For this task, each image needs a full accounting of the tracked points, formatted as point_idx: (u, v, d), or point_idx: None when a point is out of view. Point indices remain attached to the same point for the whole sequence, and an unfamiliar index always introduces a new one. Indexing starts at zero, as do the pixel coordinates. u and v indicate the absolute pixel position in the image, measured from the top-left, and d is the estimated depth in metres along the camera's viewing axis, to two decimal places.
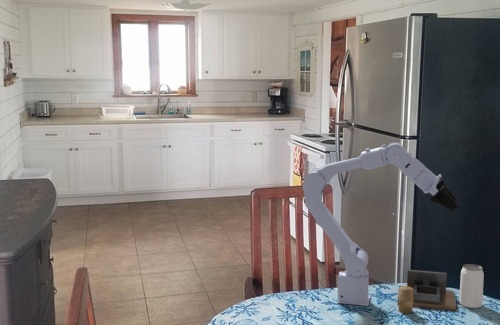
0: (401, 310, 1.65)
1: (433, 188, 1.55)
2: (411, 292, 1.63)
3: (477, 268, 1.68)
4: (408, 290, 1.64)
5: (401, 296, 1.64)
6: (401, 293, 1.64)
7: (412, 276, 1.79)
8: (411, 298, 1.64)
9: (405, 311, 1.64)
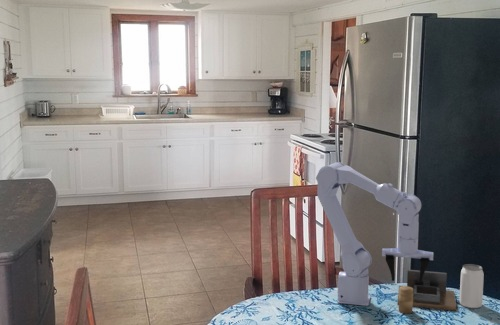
0: (401, 310, 1.65)
1: (382, 251, 1.65)
2: (411, 292, 1.63)
3: (477, 268, 1.68)
4: (408, 290, 1.64)
5: (401, 296, 1.64)
6: (401, 293, 1.64)
7: (412, 276, 1.79)
8: (411, 298, 1.64)
9: (405, 311, 1.64)
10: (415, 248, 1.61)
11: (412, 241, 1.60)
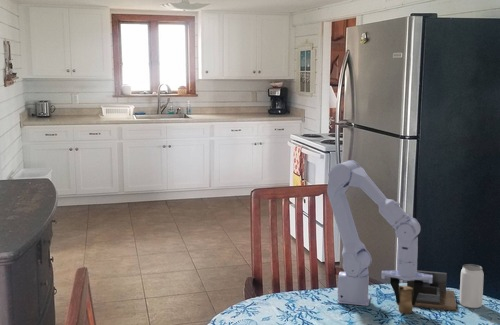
0: (401, 310, 1.65)
1: None
2: (411, 292, 1.63)
3: (477, 268, 1.68)
4: (408, 290, 1.64)
5: (401, 296, 1.64)
6: (401, 293, 1.64)
7: None
8: (411, 298, 1.64)
9: (405, 311, 1.64)
10: (414, 271, 1.62)
11: (411, 264, 1.61)
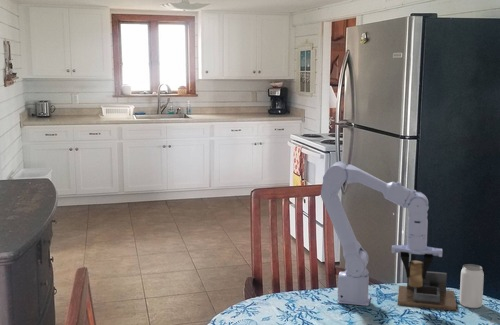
0: (411, 284, 1.66)
1: None
2: (421, 266, 1.65)
3: (477, 268, 1.68)
4: (418, 264, 1.65)
5: (411, 270, 1.66)
6: (411, 267, 1.66)
7: None
8: (421, 272, 1.65)
9: (415, 285, 1.66)
10: (424, 245, 1.63)
11: (421, 238, 1.62)
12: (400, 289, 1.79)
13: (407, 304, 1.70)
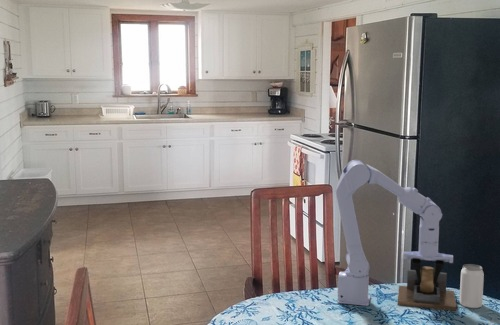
0: (422, 289, 1.71)
1: None
2: (432, 272, 1.69)
3: (477, 268, 1.68)
4: (429, 270, 1.70)
5: (422, 276, 1.70)
6: (422, 273, 1.70)
7: (412, 276, 1.79)
8: (432, 278, 1.70)
9: (426, 290, 1.70)
10: (436, 251, 1.68)
11: (433, 245, 1.67)
12: (400, 289, 1.79)
13: (407, 304, 1.70)
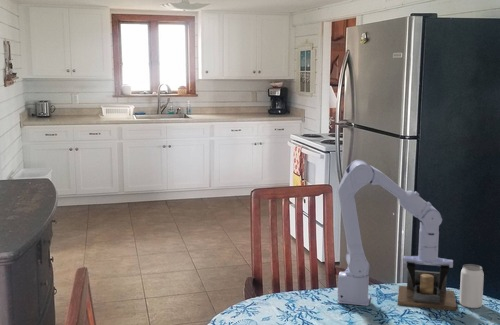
0: None
1: None
2: (432, 279, 1.70)
3: (477, 268, 1.68)
4: (429, 277, 1.70)
5: (422, 283, 1.71)
6: (422, 280, 1.71)
7: None
8: (432, 285, 1.70)
9: None
10: (435, 256, 1.68)
11: (433, 249, 1.67)
12: (400, 289, 1.79)
13: (407, 304, 1.70)
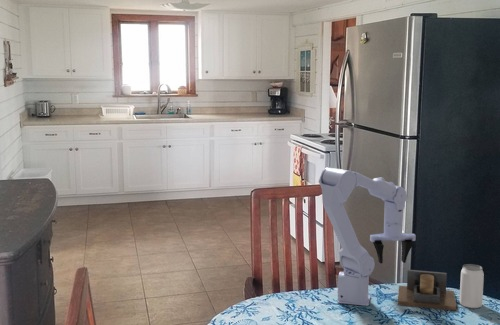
0: None
1: (371, 237, 1.79)
2: (432, 279, 1.70)
3: (477, 268, 1.68)
4: (429, 277, 1.70)
5: (422, 283, 1.71)
6: (422, 280, 1.71)
7: (412, 276, 1.79)
8: (432, 285, 1.70)
9: None
10: (401, 231, 1.78)
11: (399, 225, 1.77)
12: (400, 289, 1.79)
13: (407, 304, 1.70)
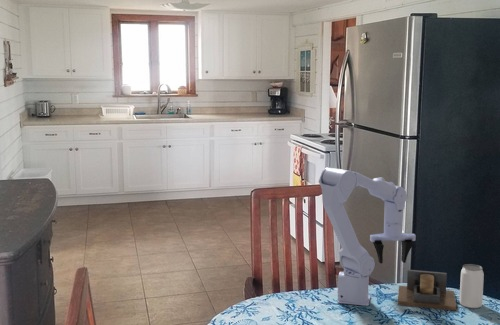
0: None
1: (371, 237, 1.79)
2: (432, 279, 1.70)
3: (477, 268, 1.68)
4: (429, 277, 1.70)
5: (422, 283, 1.71)
6: (422, 280, 1.71)
7: (412, 276, 1.79)
8: (432, 285, 1.70)
9: None
10: (401, 231, 1.78)
11: (399, 225, 1.77)
12: (400, 289, 1.79)
13: (407, 304, 1.70)
